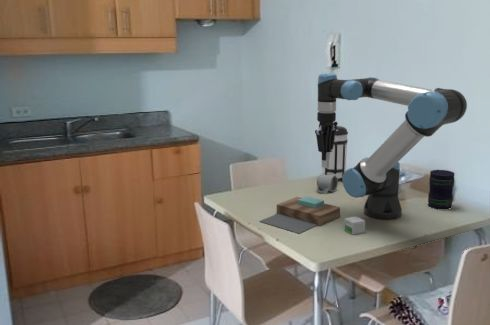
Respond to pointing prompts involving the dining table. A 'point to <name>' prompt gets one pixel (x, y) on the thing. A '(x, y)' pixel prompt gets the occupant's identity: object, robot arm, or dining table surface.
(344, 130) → the coffee press
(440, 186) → the storage jar
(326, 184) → the ceramic mug
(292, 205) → the board
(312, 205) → the card
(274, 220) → the mat
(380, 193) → the robot arm
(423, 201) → the dining table surface
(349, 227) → the small box
